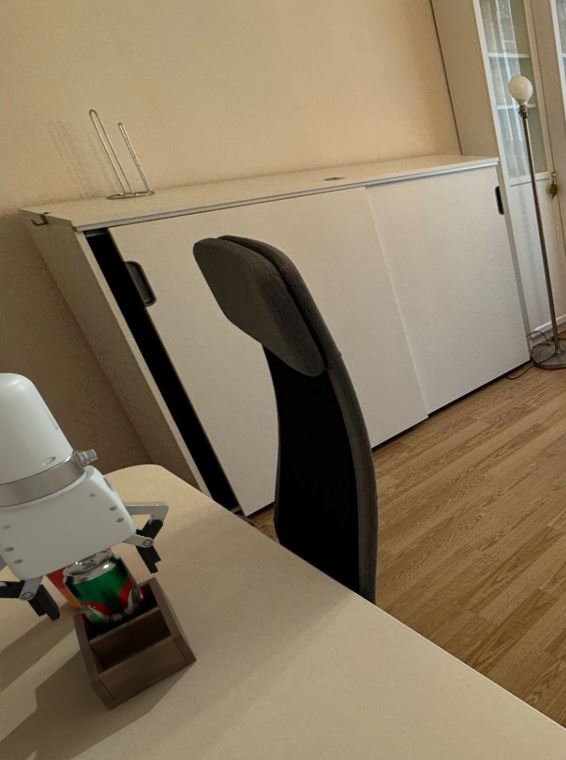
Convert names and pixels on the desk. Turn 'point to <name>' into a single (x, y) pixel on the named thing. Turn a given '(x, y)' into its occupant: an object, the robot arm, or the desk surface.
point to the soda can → (105, 590)
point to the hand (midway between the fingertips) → (106, 589)
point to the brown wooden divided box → (134, 649)
